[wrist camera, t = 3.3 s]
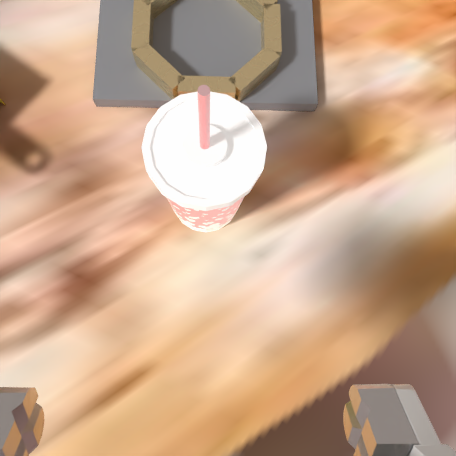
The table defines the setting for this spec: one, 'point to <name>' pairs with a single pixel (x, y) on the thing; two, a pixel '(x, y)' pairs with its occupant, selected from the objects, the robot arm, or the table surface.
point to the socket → (233, 86)
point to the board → (206, 52)
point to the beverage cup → (204, 156)
